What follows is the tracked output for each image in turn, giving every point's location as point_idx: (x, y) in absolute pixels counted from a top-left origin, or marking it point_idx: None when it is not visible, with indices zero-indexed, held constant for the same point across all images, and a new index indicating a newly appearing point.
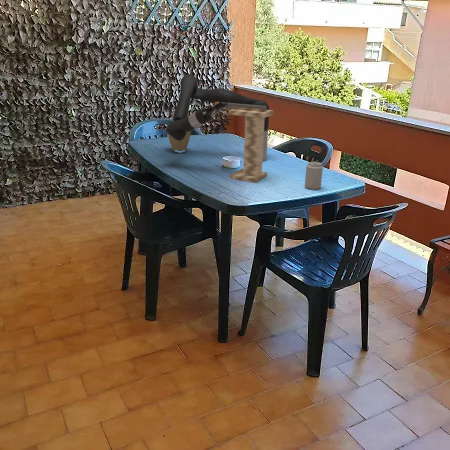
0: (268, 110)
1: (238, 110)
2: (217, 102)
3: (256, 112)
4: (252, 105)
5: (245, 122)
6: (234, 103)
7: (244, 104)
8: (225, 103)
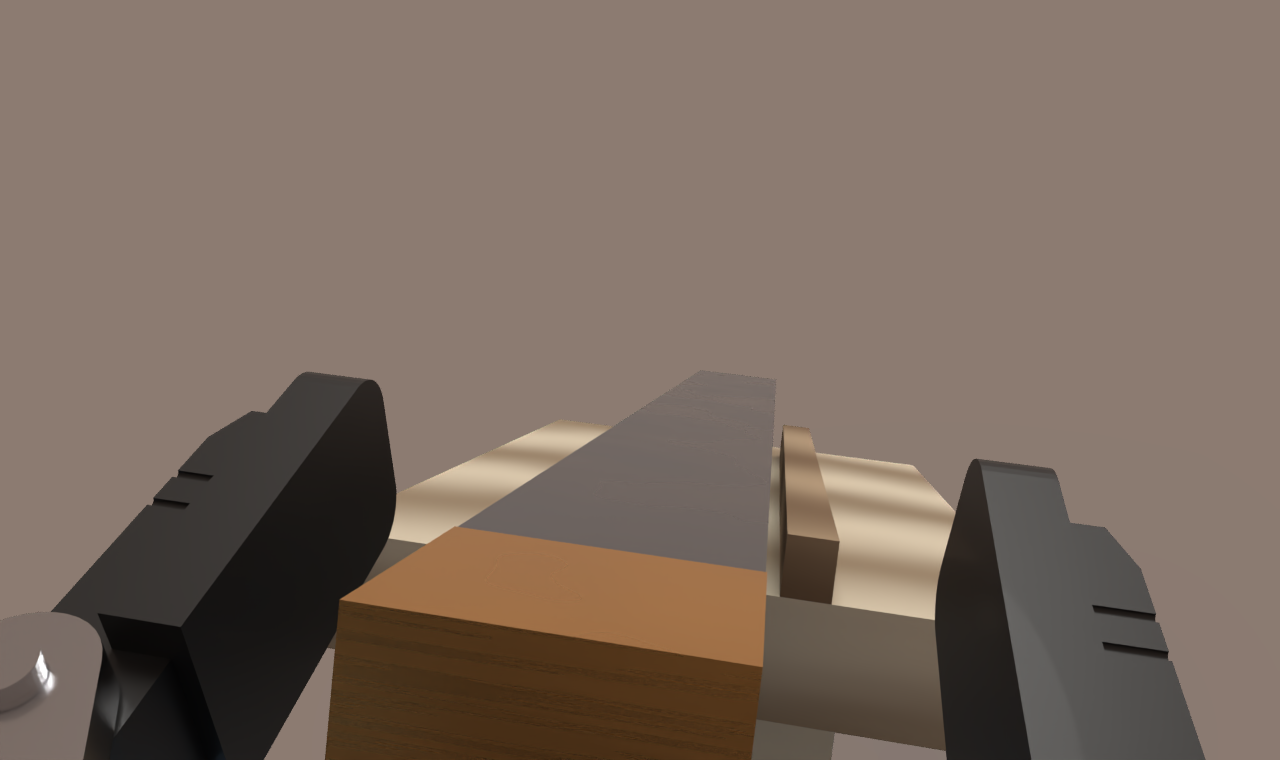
0: (598, 432)
1: (911, 557)
2: (685, 596)
3: (911, 483)
4: (766, 393)
5: (831, 740)
6: (636, 428)
7: (707, 402)
8: (767, 495)
